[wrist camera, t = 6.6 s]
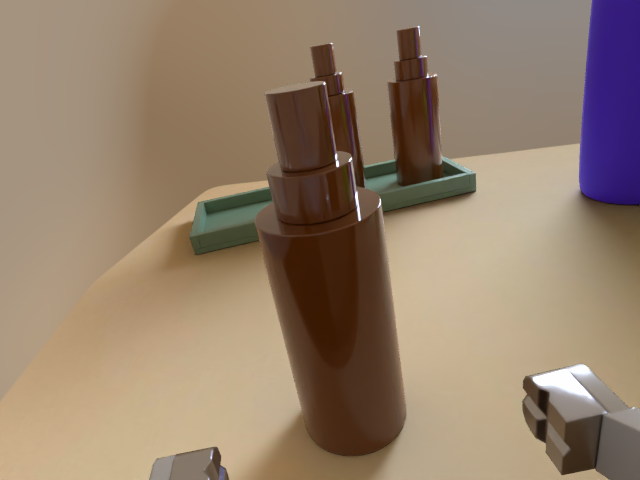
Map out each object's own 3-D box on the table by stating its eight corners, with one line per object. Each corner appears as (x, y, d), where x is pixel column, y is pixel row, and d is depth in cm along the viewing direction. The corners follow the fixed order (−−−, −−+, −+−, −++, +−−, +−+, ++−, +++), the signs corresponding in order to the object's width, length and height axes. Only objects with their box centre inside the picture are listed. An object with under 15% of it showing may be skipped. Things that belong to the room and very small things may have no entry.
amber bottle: (313, 469, 21) (221, 110, 14) (298, 389, 26) (225, 94, 19) (422, 438, 22) (385, 77, 15) (387, 366, 27) (347, 70, 20)
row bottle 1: (327, 209, 51) (299, 49, 44) (318, 194, 56) (292, 49, 49) (373, 198, 51) (353, 39, 44) (360, 185, 56) (341, 40, 49)
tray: (195, 254, 47) (189, 237, 46) (202, 217, 57) (197, 202, 56) (476, 190, 50) (475, 172, 49) (434, 166, 60) (433, 150, 59)
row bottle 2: (406, 191, 52) (391, 32, 44) (391, 178, 57) (375, 33, 49) (450, 181, 52) (443, 22, 45) (432, 169, 57) (422, 24, 50)
